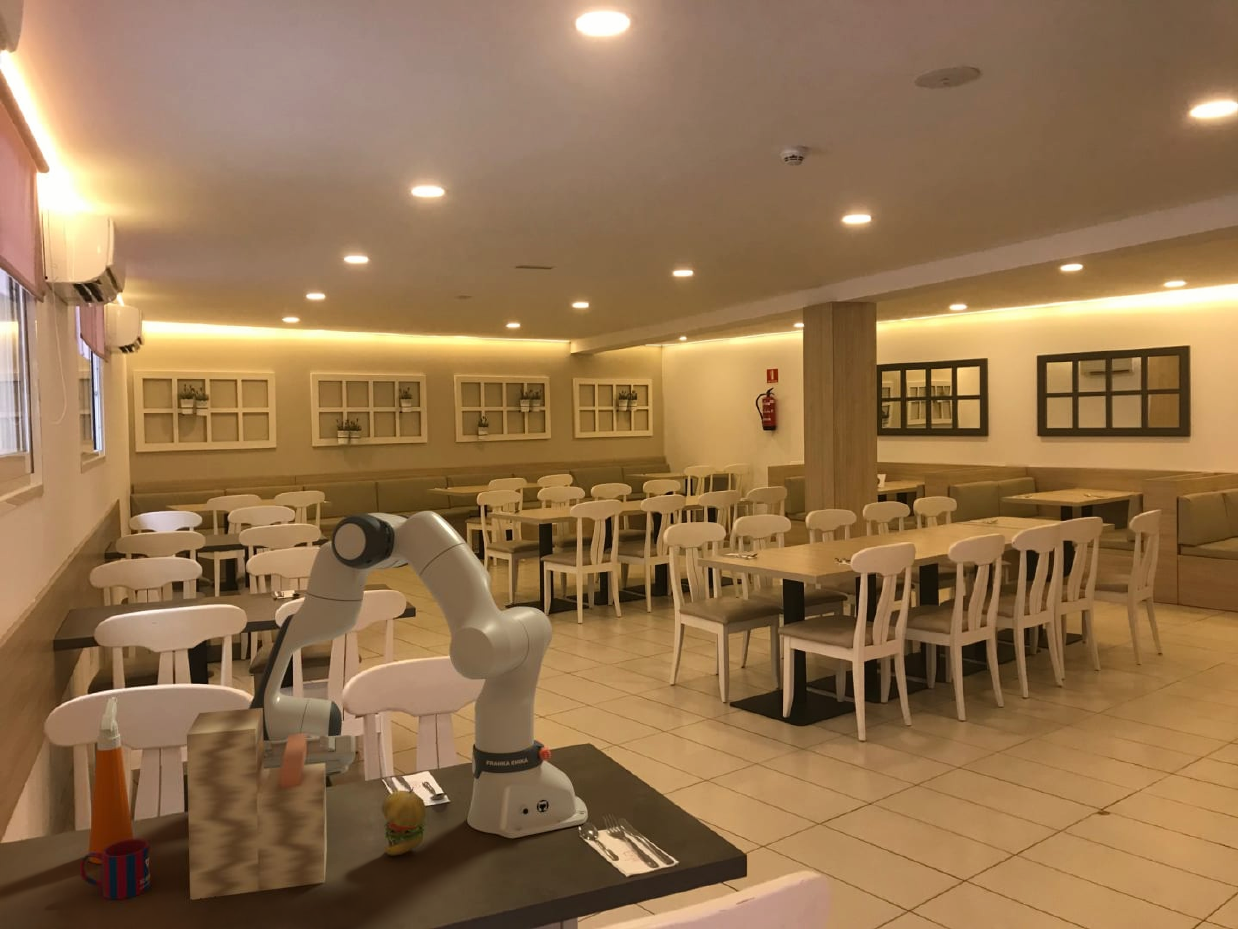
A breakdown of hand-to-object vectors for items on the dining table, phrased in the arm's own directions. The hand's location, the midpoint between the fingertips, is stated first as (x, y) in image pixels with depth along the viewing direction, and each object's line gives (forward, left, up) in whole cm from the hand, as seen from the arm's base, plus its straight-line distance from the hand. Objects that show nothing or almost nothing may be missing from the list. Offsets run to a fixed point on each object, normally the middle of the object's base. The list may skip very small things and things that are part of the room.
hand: (295, 742), depth 165 cm
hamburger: (-18, +9, -19) cm, 27 cm away
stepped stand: (+5, +10, -18) cm, 21 cm away
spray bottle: (+31, -7, -19) cm, 37 cm away
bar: (0, +5, -3) cm, 5 cm away
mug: (+27, +9, -19) cm, 34 cm away
